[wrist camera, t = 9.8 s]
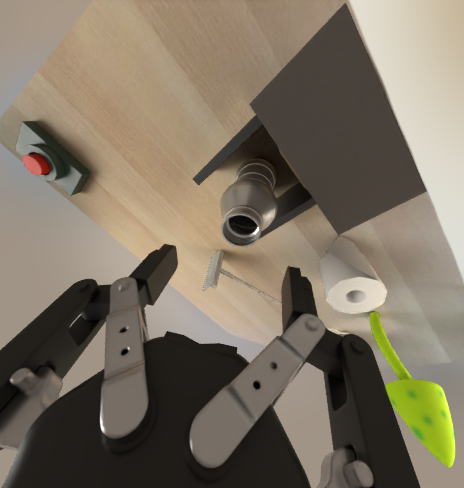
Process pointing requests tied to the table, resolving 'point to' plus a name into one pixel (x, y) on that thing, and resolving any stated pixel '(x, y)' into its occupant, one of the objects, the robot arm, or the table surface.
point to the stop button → (36, 164)
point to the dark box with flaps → (332, 132)
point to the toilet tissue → (350, 279)
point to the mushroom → (418, 402)
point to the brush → (216, 269)
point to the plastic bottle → (249, 203)
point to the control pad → (52, 157)
